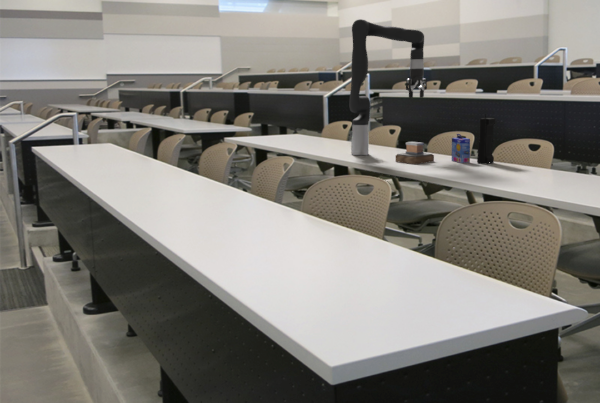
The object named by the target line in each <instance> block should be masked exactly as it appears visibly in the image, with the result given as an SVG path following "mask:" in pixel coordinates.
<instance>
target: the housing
mask: <svg viewBox="0 0 600 403" xmlns="http://www.w3.org/2000/svg"><path fill="white" fill-rule="evenodd" d="M424 144H425V142H418V141H407V142H405V146H406V151H405V153H406V154H412V155H421V154H424V153H425V151H423V150H424V146H425V145H424Z"/></svg>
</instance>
